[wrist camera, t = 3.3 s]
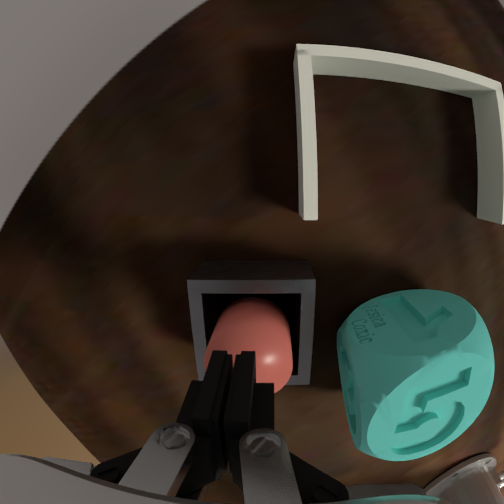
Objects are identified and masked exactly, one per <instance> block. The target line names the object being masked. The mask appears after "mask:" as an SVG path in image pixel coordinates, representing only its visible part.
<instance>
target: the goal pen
mask: <svg viewBox="0 0 504 504" xmlns="http://www.w3.org/2000/svg"><path fill="white" fill-rule="evenodd" d="M293 67H294V83H295V101H296V122H297V148H298V188H299V215H300V216H301V217H302V219H303V220H318V182H317V144H316V121H315V103H314V87H313V74H320V75H337V76H350V77H361V78H370V79H378V80H386V81H393V82H399V83H405V84H411V85H417V86H422V87H427V88H432V89H437V90H441V91H445V92H450V93H454V94H458V95H462V96H465V97H469V98H472V103H473V110H474V119H475V129H476V142H477V162H478V201H477V218H479V219H483V220H487V221H491V222H495V223H499V224H504V98H503V92H502V86H501V83H500V82H497V81H495V80H492V79H489V78H487V77H484V76H481V75H478V74H475V73H472V72H469V71H466V70H462V69H459V68H456V67H452V66H449V65H445V64H441V63H437V62H433V61H429V60H425V59H421V58H416V57H411V56H406V55H401V54H396V53H390V52H384V51H377V50H370V49H362V48H354V47H344V46H332V45H315V44H296V50H295V56H294V63H293Z"/></svg>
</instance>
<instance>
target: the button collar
mask: <svg viewBox="0 0 504 504" xmlns="http://www.w3.org/2000/svg"><path fill="white" fill-rule="evenodd" d="M187 287H188V297H189V307H190V316H191V325H192V333H193V342H194V349H195V357H196V364H197V372H198V378H199V381H203V379H204V376H205V372H206V370H205V366H204V355H205V351H206V349H207V346H208V344H209V341H210V339H211V336H212V334H213V331H214V329H215V326H216V324H217V321H218V308H217V294H216V293H224V294H273V293H296V310H295V342H294V343H291V349H292V360H293V368H292V373H291V376H290V378H289V380H288V381H287V383H286V384H285V385H309V384H310V372H311V360H312V346H313V330H314V312H315V290H316V279H315V276H314V274H313V271H312V269H311V267H310V264H309V262H308V260H268V261H203V262H202V263H201V264H200V265H199V267H198V268H197V269H196V270H195V271H194V272H193V273H192V275H191V276H190V277H189V278H188V279H187Z"/></svg>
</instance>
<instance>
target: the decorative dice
mask: <svg viewBox="0 0 504 504" xmlns="http://www.w3.org/2000/svg"><path fill="white" fill-rule="evenodd" d="M337 353H338V363H339V371H340V379H341V385H342V392H343V398H344V404H345V409H346V414H347V419H348V423H349V428H350V432H351V435H352V439H353V442H354V444H355V446H356V448H357V449H358V450H360V451H362V452H364V453H366V454H368V455H371V456H373V457H376V458H379V459H384V460H390V461H406V460H412V459H416V458H420V457H423V456H426V455H428V454H431V453H433V452H435V451H437V450H439V449H441V448H443V447H444V446H446V445H447V444H449V443H450V442H452V441H453V440H455V439H456V438H457V437H458V436H460V435H461V434H462V433H463V432H464V431H465V430H466V429H467V428H468V427H469V426H470V425H471V424H472V423H473V422H474V420H475V419H476V418H477V416H478V415H479V414H480V412H481V411H482V409H483V407H484V406H485V404H486V402H487V400H488V397H489V395H490V391H491V388H492V384H493V379H494V354H493V347H492V343H491V339H490V336H489V333H488V330H487V328H486V325H485V323H484V321H483V320H482V318H481V316H480V315H479V313H478V312H477V311H476V309H475V308H474V307H473V306H472V305H471V304H470V303H469V302H467V301H466V300H465V299H463V298H461V297H459V296H457V295H455V294H452V293H448V292H444V291H438V290H428V289H415V290H404V291H398V292H393V293H388V294H385V295H381V296H379V297H376V298H373V299H371V300H369V301H367V302H365V303H363V304H362V305H360V306H359V307H358V308H356V309H355V310H354V311H353V312H352V313H351V314H350V315H349V316H348V317H347V319H346V320H345V321H344V322H343V324H342V325H341V326H340V328H339V329H338V331H337Z"/></svg>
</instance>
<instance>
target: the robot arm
mask: <svg viewBox="0 0 504 504" xmlns="http://www.w3.org/2000/svg"><path fill="white" fill-rule="evenodd" d="M228 461H229V468H230V473H232V476H233V482H234V483H236V484H237V485H238V486H239V487H240V488H241V489H243V491H244V501H245V504H504V497H503V495H502V493H501V492H500V490H499V488H501V487H503V486H504V470H503V471H502V472H500V473H497V472H496V470H495V466H496V462H497V461H496V459H495V457H494V456H493V455H492V454H489V453H488V454H481V455H477V456H475V457H472V458H470V459H468V460H466V461H464V462H462V463H460V464H458V465H456V466H455V467H453V468H451V469H450V470H448V471H446V472H445V473H444V474H442V475H441V476H439V477H438V478H436V479H435V480H434V481H432V482H431V483H430V484H429V485H428V486H426V487H425V488H424V489H423V488H422V487H421V486H418V485H416V484H383V485H368V484H355V487H348V486H344V485H343V484H342V483H340V482H339V481H337V480H335V479H334V478H332V477H330V476H328V475H327V474H325V473H323V472H321V471H320V470H318V469H316V468H315V467H313V466H311V465H310V464H308V463H306V462H305V461H303V460H302V459H300V458H299V457H297V456H295V455H294V454H292V453H291V452H289V451H288V447H287V443H286V440H285V438H284V436H283V435H282V434H281V433H279V432H277V431H275V430H274V383H256V353H255V351H241V354H236V357H235V362H234V367H233V357H232V354H228V353H227V351H223V350H213V351H212V354H211V357H210V360H209V363H208V366H207V369H206V372H205V376H204V379H203V381H197V380H193V381H191V383H190V386H189V389H188V391H187V394H186V397H185V399H184V402H183V405H182V407H181V410H180V413H179V415H178V418H177V421H176V423H167V424H164V425H161V426H160V427H158V428H157V429H156V430H155V431H154V432H153V433H152V435H151V436H150V438H149V439H148V441H147V442H146V444H145V445H144V447H142V448H140V449H137V450H135V451H132V452H129V453H127V454H124V455H122V456H119V457H116V458H114V459H111V460H108V461H105V462H102V463H100V464H98V465H97V466H93V464H92V463H87V462H79V461H71V460H65V459H59V458H53V457H43V458H36V457H31V456H27V455H20V454H1V455H0V504H228V503H216V502H206V501H203V499H204V496H205V494H206V491H207V487H208V486H207V484H209V483H211V482H213V481H215V479H217V480H220V476H221V472H223V473H226V471H227V466H228Z"/></svg>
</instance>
